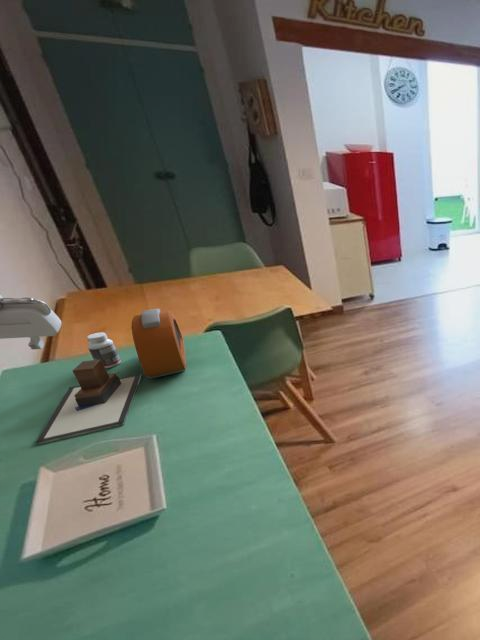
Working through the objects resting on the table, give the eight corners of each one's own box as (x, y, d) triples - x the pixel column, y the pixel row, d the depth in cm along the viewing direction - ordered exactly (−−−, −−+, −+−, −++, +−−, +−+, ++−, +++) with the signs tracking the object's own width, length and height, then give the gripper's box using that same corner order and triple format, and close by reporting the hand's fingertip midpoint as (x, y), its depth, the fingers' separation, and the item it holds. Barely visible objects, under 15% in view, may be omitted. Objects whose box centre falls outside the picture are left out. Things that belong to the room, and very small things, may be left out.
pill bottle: (93, 366, 123) (79, 336, 118) (115, 358, 127) (102, 329, 123) (103, 370, 121) (89, 340, 116) (125, 362, 125) (112, 333, 121)
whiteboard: (36, 445, 92) (34, 443, 92) (70, 389, 112) (69, 387, 112) (124, 424, 99) (123, 422, 99) (141, 375, 119) (140, 373, 119)
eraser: (105, 403, 106) (90, 372, 102) (78, 407, 104) (63, 376, 100) (121, 383, 114) (108, 354, 110) (97, 386, 112) (83, 357, 108)
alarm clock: (188, 375, 120) (169, 322, 113) (148, 384, 115) (126, 329, 108) (185, 344, 137) (169, 296, 129) (150, 351, 132) (131, 302, 125)
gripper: (47, 287, 83) (78, 334, 93) (-110, 289, 74) (-57, 341, 84) (36, 309, 79) (70, 355, 89) (-130, 314, 71) (-73, 365, 80)
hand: (7, 348), depth 86 cm, fingers open, 8 cm apart
